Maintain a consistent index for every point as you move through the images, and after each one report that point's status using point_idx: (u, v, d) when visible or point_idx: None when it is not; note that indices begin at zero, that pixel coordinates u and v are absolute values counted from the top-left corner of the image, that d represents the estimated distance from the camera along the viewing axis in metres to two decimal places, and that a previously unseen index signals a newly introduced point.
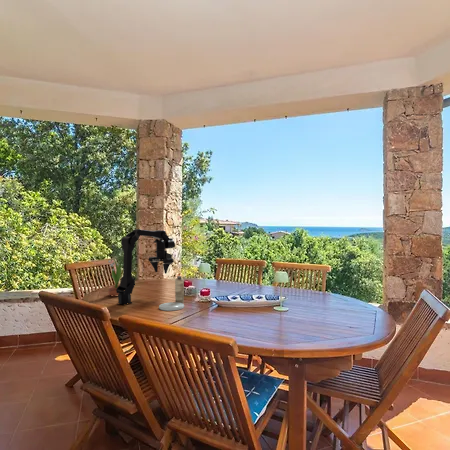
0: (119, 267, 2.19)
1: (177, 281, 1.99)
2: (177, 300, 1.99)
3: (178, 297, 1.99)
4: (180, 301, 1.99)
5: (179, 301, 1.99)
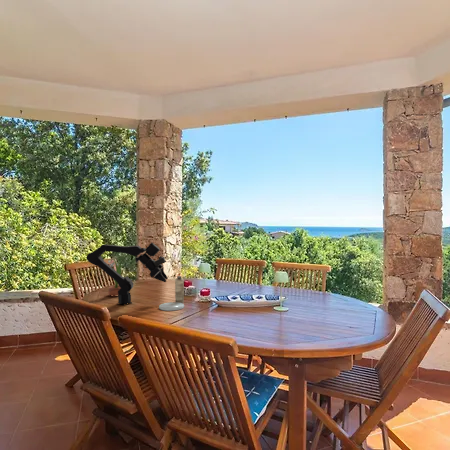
0: (119, 267, 2.19)
1: (177, 281, 1.99)
2: (177, 300, 1.99)
3: (178, 297, 1.99)
4: (180, 301, 1.99)
5: (179, 301, 1.99)
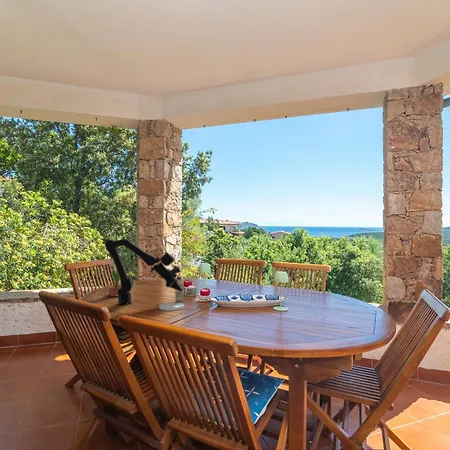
0: None
1: (177, 281, 1.99)
2: (177, 300, 1.99)
3: (178, 297, 1.99)
4: (180, 301, 1.99)
5: (179, 301, 1.99)
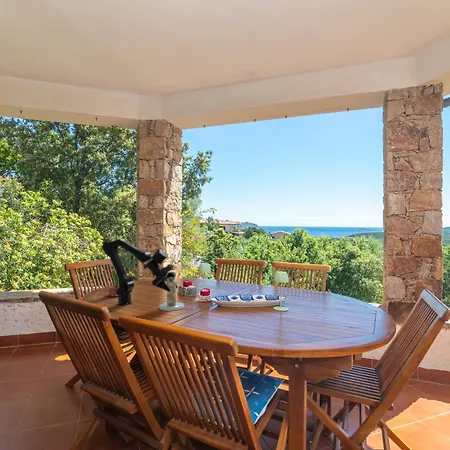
0: None
1: (167, 283, 1.87)
2: (167, 303, 1.88)
3: (168, 300, 1.87)
4: (170, 304, 1.87)
5: (169, 304, 1.87)
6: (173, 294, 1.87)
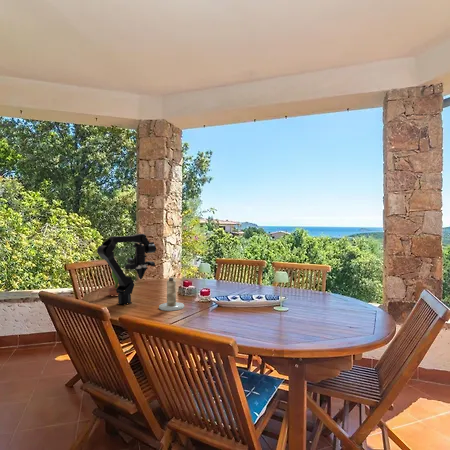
0: None
1: (167, 283, 1.87)
2: (167, 303, 1.88)
3: (168, 300, 1.87)
4: (170, 304, 1.87)
5: (169, 304, 1.87)
6: (173, 294, 1.87)
